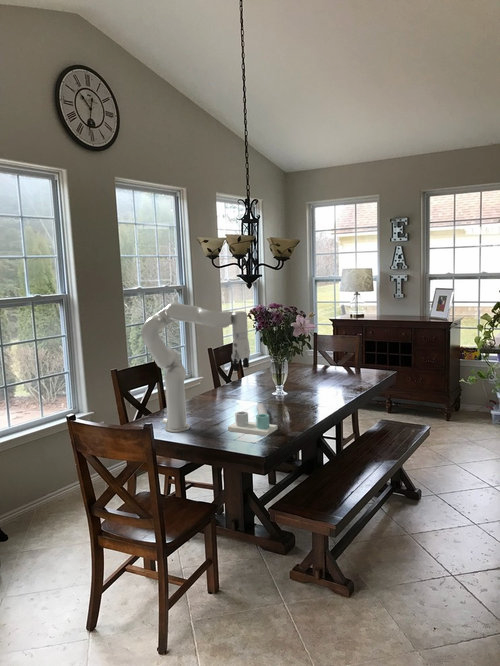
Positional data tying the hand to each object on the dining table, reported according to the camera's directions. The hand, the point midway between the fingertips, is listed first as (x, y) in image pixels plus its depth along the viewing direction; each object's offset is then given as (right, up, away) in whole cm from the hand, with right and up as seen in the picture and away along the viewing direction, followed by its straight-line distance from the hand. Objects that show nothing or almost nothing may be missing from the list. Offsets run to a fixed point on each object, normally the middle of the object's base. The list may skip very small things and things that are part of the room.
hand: (241, 369), depth 275 cm
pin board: (+6, -31, -2) cm, 31 cm away
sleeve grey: (0, -28, +1) cm, 28 cm away
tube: (+11, -28, +22) cm, 37 cm away
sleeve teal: (+11, -29, -5) cm, 31 cm away
